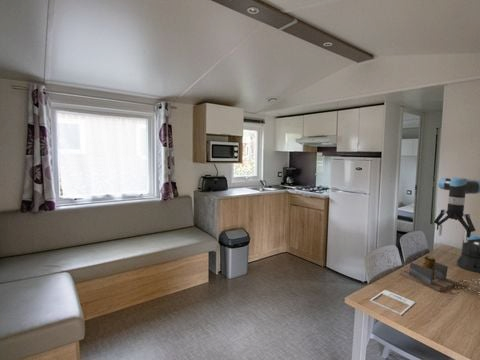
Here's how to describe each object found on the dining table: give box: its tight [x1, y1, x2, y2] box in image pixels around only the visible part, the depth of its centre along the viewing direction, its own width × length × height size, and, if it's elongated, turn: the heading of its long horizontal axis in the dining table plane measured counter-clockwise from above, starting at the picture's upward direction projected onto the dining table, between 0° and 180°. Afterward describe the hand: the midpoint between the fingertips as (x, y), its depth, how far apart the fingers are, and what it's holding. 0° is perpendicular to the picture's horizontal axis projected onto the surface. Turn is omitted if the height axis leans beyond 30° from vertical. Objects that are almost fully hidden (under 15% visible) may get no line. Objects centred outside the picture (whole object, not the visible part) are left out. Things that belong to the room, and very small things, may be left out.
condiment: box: [422, 256, 439, 281], centre depth 160 cm, size 7×8×12 cm
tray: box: [399, 261, 457, 293], centre depth 161 cm, size 18×22×10 cm
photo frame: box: [369, 289, 416, 316], centre depth 135 cm, size 15×1×18 cm
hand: (452, 238), depth 160 cm, fingers open, 13 cm apart
